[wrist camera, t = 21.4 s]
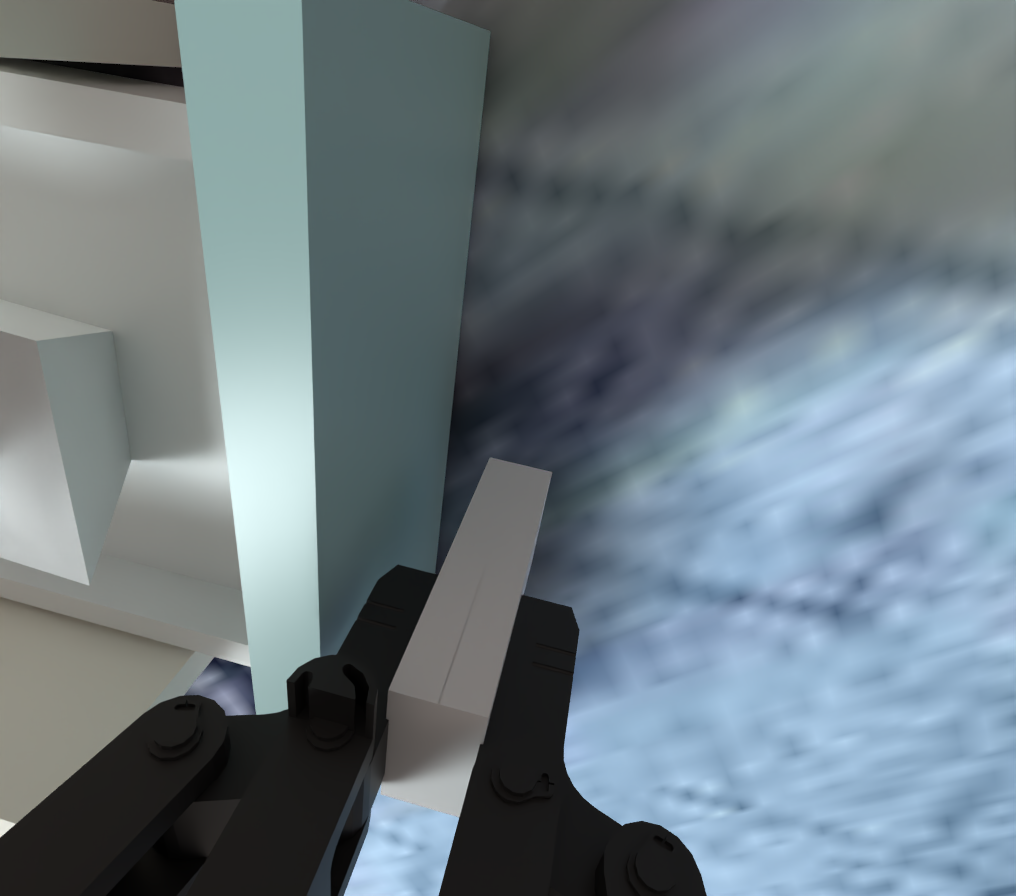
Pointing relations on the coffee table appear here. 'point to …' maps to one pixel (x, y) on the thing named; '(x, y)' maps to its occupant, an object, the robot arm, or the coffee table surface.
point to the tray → (257, 309)
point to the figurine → (58, 441)
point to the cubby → (42, 633)
